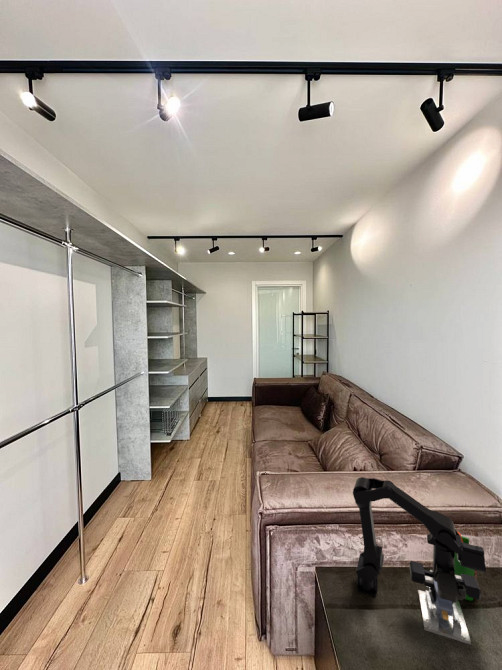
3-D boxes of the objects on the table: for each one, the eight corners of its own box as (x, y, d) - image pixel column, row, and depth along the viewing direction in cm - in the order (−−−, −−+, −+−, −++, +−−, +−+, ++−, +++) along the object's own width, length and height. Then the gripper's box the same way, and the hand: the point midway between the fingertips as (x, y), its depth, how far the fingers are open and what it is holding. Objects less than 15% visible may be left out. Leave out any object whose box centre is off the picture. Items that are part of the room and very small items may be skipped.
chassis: (424, 629, 94) (424, 618, 93) (418, 592, 106) (418, 582, 105) (470, 644, 89) (471, 632, 89) (458, 603, 101) (459, 593, 101)
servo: (438, 618, 93) (438, 603, 93) (432, 589, 102) (432, 576, 102) (453, 622, 92) (454, 607, 91) (446, 593, 101) (446, 579, 100)
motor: (483, 602, 101) (485, 547, 99) (454, 598, 103) (455, 544, 101) (468, 575, 111) (470, 525, 109) (441, 572, 113) (442, 522, 111)
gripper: (413, 570, 91) (413, 616, 93) (488, 590, 84) (486, 639, 86) (409, 543, 102) (408, 585, 103) (476, 558, 95) (474, 603, 96)
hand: (442, 602), depth 97 cm, fingers closed on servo, 4 cm apart
